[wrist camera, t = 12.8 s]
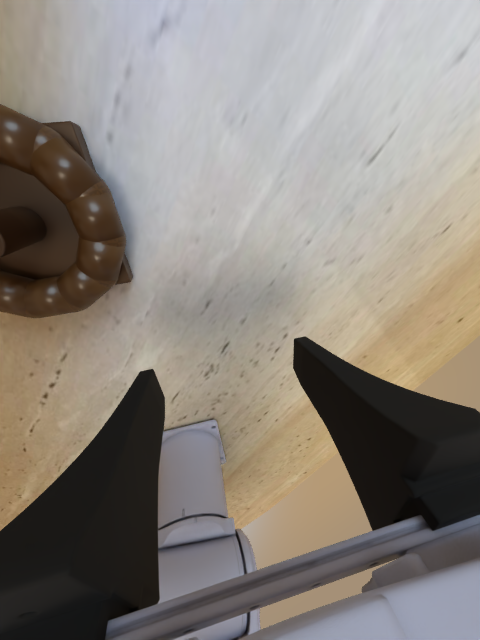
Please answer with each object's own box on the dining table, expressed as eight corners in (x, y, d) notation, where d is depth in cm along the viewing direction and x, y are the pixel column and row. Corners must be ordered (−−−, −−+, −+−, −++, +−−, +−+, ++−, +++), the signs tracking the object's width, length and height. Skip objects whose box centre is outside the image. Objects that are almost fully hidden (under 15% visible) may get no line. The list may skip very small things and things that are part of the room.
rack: (133, 276, 18) (117, 307, 13) (3, 297, 17) (-60, 339, 12) (79, 125, 13) (28, 97, 9) (-108, 140, 12) (-275, 116, 8)
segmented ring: (148, 291, 17) (143, 305, 15) (-13, 318, 16) (-41, 338, 14) (83, 95, 12) (62, 77, 10) (-176, 112, 10) (-262, 95, 8)
